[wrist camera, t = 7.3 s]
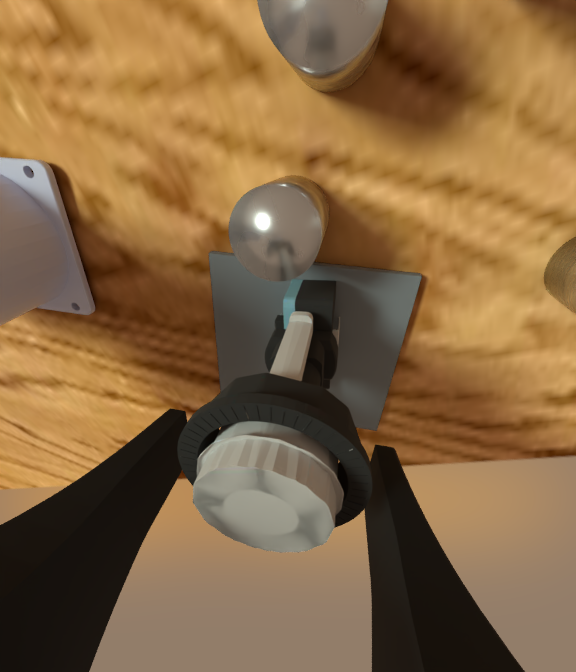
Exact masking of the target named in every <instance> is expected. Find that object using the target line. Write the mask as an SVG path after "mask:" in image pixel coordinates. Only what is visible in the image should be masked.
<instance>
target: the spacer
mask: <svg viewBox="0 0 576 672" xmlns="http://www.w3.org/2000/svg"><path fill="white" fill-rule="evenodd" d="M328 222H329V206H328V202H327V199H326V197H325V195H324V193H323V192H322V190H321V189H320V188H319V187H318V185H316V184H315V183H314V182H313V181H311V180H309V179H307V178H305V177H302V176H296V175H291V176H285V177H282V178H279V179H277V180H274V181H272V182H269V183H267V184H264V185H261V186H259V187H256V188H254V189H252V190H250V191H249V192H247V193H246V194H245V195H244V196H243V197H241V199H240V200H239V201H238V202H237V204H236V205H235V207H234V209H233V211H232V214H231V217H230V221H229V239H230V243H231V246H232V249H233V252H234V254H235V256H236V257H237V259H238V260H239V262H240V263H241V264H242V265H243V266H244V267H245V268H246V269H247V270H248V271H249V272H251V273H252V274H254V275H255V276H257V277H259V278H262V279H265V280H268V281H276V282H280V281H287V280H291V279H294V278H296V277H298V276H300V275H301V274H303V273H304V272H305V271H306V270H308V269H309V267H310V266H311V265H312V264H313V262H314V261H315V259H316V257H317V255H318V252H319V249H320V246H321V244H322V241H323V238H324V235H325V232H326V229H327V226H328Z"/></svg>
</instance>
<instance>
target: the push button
mask: <svg viewBox="0 0 576 672" xmlns="http://www.w3.org/2000/svg"><path fill="white" fill-rule="evenodd" d="M335 299H336V281H330V280H298V279H292V280H291V284H290V286H289V288H288V290H287V292H286V294H285V296H284V300H283V314H280V315H277V317H276V319H275V321H274V322H275V330H274V332H273V333H272V336H271V338H270V340H269V342H268V344H267V347H266V350H265V364H266V367H267V369H268V371H269V373H260V374H255V375H249V376H244V377H238V378H236V379H234V380H233V381H232V382H231V383H230V384H229V385H228V386H227V387H226V388H225V389H224V390H223V391H222V392H221V393H220V394H219V395H218V396H216V397H215V398H214V399H213V400H212V401H211V402H209V403H207V404H206V405H204V406H202V407H201V408H200V409H198V410H197V411H196V412H195V413H194V414H193V415H192V417H191V418H190V419H189V421H188V422H187V424H186V426H185V427H184V429H183V431H182V433H181V435H180V437H179V441H178V447H177V451H178V459H179V463H180V465H181V468H182V470H183V472H184V474H185V476H186V477H187V479H188V480H189V481H190V483H191V484H192V485H193V503H194V504H195V506H196V508H197V509H198V511H199V512H200V514H201V515H202V517H203V518H204V520H205V521H206V522H207V523H208V524H210V525H211V526H213V527H215V528H216V529H217V530H218V531H220V532H221V533H222V534H224V535H225V536H227V537H230V538H232V539H233V540H235V541H238V542H241V543H244V544H246V545H248V546H251V547H254V548H260V549H263V550H267V551H275V552H301V551H308V550H310V549H312V548H314V547H317V546H319V545H323V544H324V543H326V542H327V540H328V538H329V536H330V534H331V532H332V531H333V529H334V528H335V527H337V526H340V525H343V524H345V523H347V522H349V521H350V520H352V519H354V518H355V517H356V516H357V515H359V514H360V513H361V511H363V510H364V508H365V507H366V505H367V504H368V502H369V499H370V497H371V493H372V471H371V464H370V461H369V457H368V455H367V453H366V451H365V449H364V447H363V446H362V444H361V442H360V439H359V436H358V433H357V430H356V427H355V424H354V422H353V419H352V416H351V413H350V410H349V408H348V407H347V406H346V405H345V404H344V403H342V402H341V401H340V400H339V399H337V398H336V397H335V396H334V395H332V394H331V393H330V392H329V391H328V390H326V389H329V388H330V380H331V379H332V378H333V376H334V375H335V372H336V369H337V360H338V343H339V330H340V317H339V319H338V329H333V318H334V309H335ZM220 427H221V429H220V430H219V428H220ZM338 459H339V461H340V462H339V463H338Z"/></svg>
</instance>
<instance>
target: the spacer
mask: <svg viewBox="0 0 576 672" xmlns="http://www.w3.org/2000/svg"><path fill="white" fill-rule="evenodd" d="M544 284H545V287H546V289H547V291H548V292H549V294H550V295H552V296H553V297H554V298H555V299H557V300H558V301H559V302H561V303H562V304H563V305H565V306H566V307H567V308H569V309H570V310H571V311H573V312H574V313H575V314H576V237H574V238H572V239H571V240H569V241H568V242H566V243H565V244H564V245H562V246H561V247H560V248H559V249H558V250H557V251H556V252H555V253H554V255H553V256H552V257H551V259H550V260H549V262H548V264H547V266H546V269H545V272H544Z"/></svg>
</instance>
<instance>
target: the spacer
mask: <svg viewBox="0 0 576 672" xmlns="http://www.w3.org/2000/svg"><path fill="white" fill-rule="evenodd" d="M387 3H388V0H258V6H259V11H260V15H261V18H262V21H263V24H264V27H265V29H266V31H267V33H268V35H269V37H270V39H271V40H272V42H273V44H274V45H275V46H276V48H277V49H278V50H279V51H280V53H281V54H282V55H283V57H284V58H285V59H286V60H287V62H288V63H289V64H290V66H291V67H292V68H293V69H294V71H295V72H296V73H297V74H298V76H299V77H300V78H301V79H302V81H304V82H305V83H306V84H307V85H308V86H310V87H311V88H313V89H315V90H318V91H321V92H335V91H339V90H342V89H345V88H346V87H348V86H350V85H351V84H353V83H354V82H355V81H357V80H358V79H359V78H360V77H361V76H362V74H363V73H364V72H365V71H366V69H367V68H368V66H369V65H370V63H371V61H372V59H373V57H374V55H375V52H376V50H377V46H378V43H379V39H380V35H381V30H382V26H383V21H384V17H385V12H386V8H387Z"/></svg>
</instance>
